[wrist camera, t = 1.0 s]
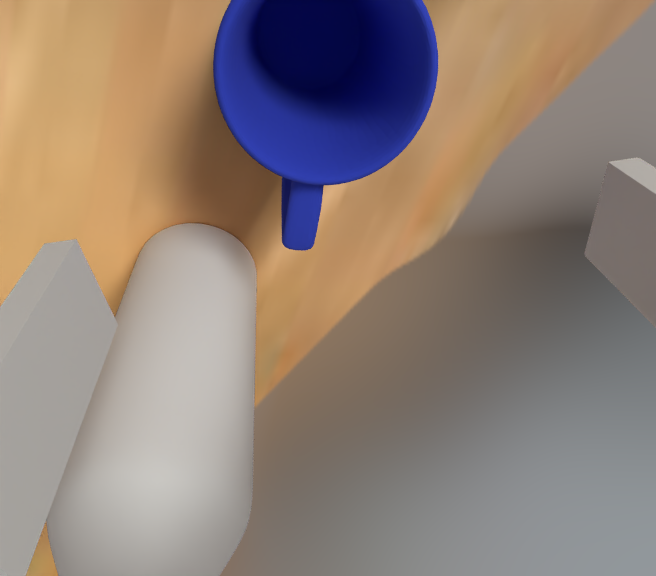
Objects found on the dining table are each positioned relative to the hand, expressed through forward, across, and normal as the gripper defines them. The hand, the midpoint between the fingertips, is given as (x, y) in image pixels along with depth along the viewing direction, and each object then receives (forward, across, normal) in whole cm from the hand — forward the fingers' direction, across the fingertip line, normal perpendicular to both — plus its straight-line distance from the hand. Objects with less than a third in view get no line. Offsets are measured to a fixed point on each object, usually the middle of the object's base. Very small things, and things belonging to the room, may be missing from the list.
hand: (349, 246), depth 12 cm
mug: (+18, 0, 0) cm, 18 cm away
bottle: (+18, -9, -12) cm, 23 cm away
